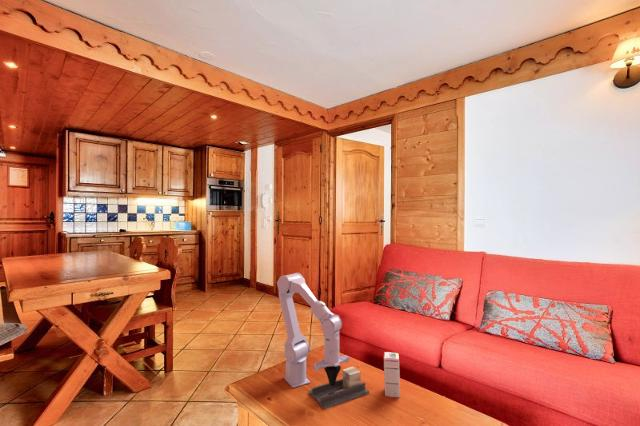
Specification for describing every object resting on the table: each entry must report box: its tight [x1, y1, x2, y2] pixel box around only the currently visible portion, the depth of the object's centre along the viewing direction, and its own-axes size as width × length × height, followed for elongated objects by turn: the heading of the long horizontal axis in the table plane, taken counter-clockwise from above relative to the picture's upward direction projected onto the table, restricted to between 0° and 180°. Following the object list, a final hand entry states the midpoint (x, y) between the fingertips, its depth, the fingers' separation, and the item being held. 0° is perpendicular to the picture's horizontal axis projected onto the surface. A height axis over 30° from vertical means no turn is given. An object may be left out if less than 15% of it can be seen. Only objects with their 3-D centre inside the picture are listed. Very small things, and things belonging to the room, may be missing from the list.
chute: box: [308, 377, 370, 410], centre depth 121 cm, size 12×20×3 cm, turn 119°
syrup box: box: [383, 351, 401, 398], centre depth 121 cm, size 6×6×14 cm
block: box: [342, 366, 362, 388], centre depth 124 cm, size 5×5×6 cm
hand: (332, 384), depth 120 cm, fingers closed
